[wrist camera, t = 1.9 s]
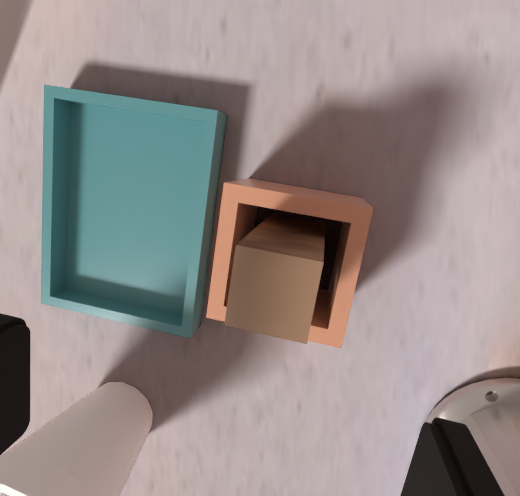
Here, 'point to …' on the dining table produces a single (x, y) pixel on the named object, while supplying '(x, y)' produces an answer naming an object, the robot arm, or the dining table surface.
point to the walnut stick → (277, 277)
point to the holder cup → (302, 202)
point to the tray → (128, 207)
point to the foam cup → (81, 447)
